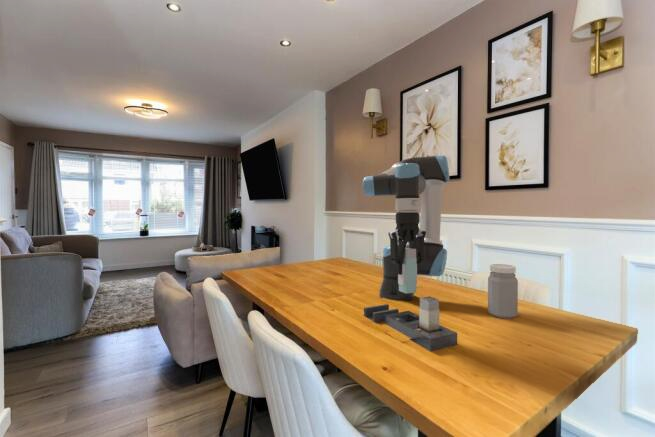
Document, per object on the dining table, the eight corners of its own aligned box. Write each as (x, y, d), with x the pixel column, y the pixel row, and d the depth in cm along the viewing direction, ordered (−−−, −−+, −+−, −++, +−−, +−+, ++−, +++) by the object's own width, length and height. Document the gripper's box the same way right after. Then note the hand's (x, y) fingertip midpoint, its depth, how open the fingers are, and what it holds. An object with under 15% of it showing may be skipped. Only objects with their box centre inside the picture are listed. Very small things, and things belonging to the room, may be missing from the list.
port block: (408, 320, 112) (408, 285, 112) (457, 344, 92) (457, 301, 92) (384, 325, 108) (384, 288, 108) (430, 351, 88) (430, 306, 87)
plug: (408, 289, 106) (408, 247, 106) (416, 292, 103) (416, 248, 102) (398, 290, 105) (398, 248, 105) (406, 293, 101) (406, 249, 101)
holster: (386, 313, 120) (386, 303, 120) (399, 319, 113) (399, 309, 113) (363, 317, 116) (363, 307, 116) (375, 324, 109) (375, 313, 109)
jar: (520, 314, 117) (521, 265, 117) (514, 321, 110) (514, 269, 109) (492, 308, 124) (492, 262, 123) (483, 315, 117) (484, 266, 116)
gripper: (392, 211, 96) (392, 288, 97) (436, 211, 103) (436, 283, 104) (378, 212, 103) (378, 283, 104) (420, 211, 110) (420, 279, 111)
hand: (407, 283), depth 104 cm, fingers closed on plug, 4 cm apart
